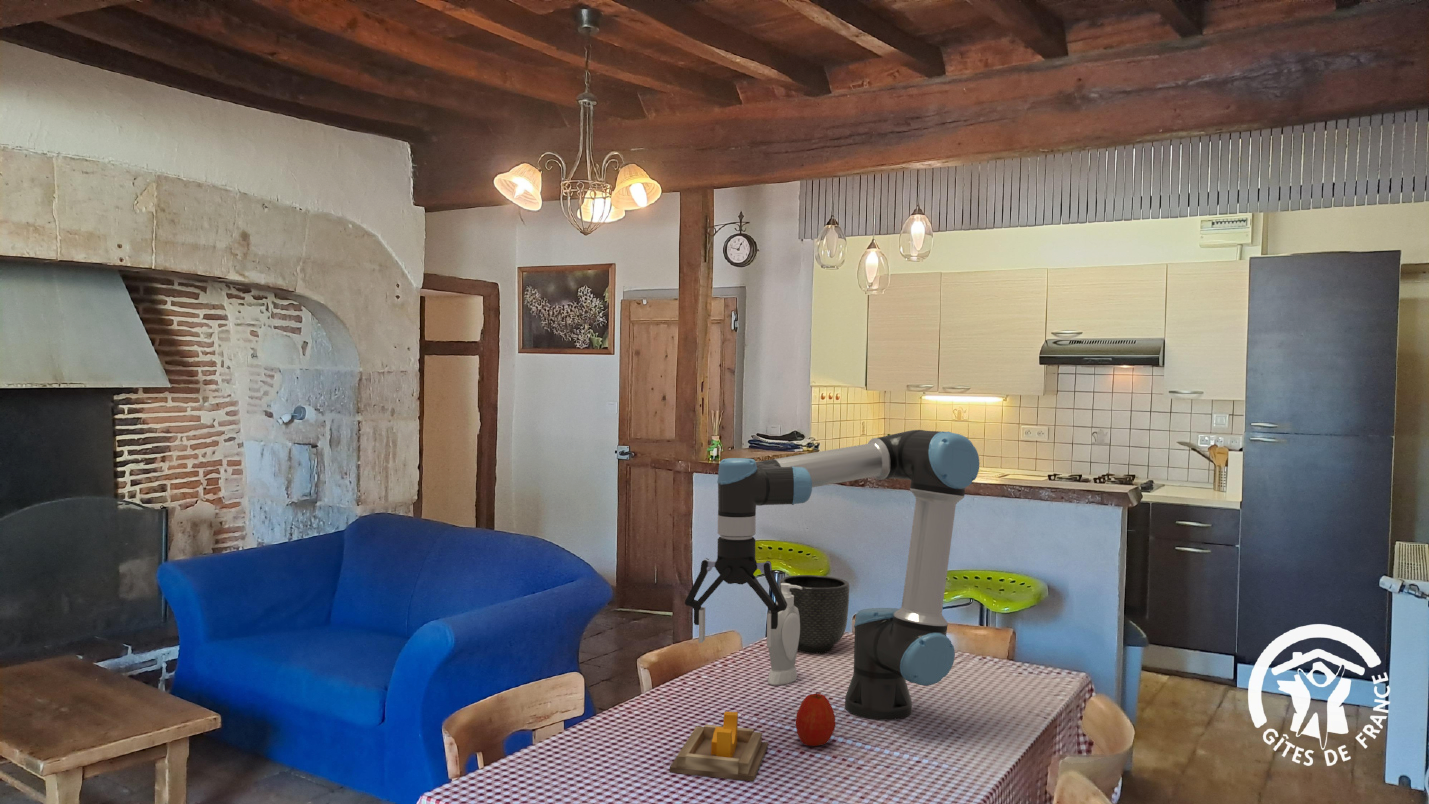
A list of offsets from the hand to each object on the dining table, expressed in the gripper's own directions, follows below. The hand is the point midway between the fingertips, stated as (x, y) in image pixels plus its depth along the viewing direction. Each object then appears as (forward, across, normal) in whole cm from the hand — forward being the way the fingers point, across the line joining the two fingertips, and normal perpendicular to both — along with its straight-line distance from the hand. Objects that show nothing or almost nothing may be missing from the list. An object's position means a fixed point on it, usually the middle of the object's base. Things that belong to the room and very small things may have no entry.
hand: (735, 643), depth 193 cm
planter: (+23, -8, -84) cm, 88 cm away
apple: (+22, -15, -9) cm, 29 cm away
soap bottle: (+23, -5, -50) cm, 56 cm away
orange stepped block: (+21, +2, +4) cm, 21 cm away
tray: (+22, +2, +4) cm, 22 cm away
